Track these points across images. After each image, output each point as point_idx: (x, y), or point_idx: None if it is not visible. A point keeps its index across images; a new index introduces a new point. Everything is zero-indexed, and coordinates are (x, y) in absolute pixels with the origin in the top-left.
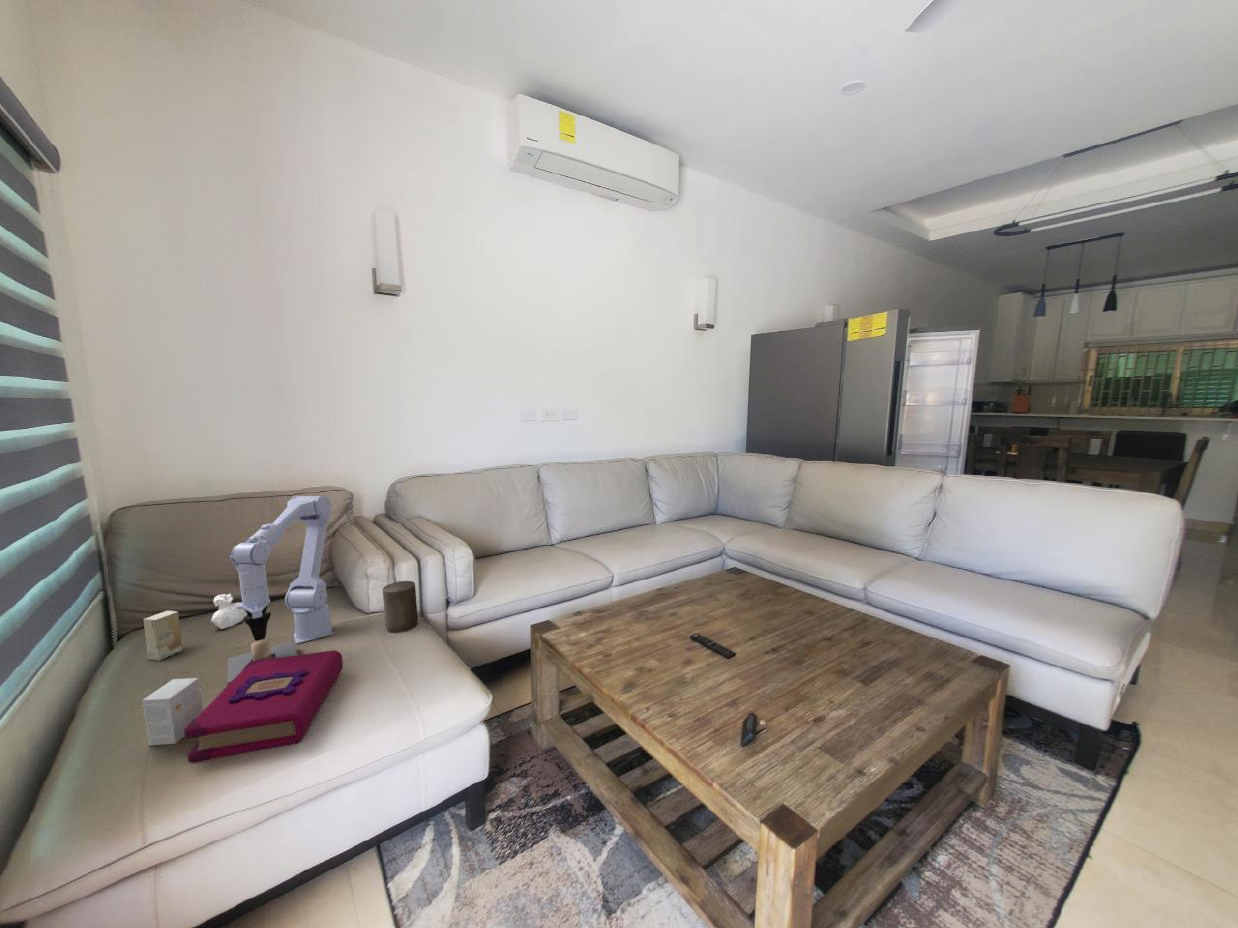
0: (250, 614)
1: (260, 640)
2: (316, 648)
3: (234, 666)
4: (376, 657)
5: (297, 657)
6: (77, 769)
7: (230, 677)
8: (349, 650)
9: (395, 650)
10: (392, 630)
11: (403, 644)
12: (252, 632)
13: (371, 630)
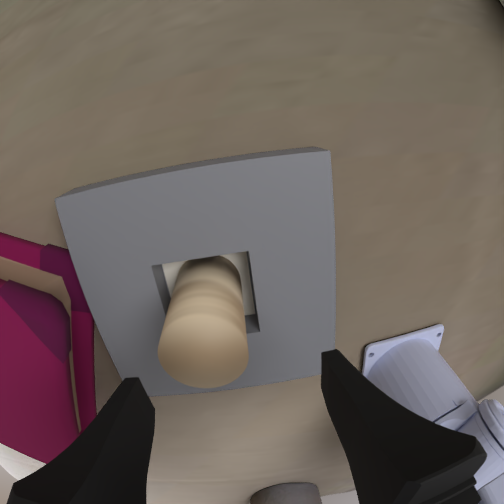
0: (371, 447)
1: (235, 354)
2: (287, 396)
3: (208, 192)
4: (148, 472)
5: (55, 426)
6: None
7: (94, 200)
8: (215, 449)
9: (166, 489)
10: (260, 494)
11: (188, 496)
12: (91, 422)
13: (308, 467)
